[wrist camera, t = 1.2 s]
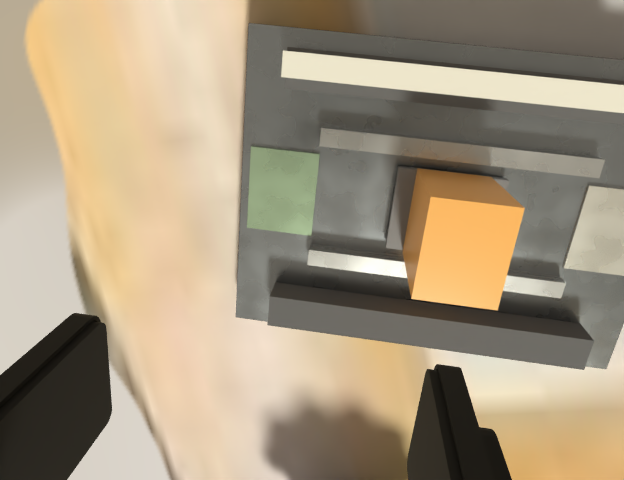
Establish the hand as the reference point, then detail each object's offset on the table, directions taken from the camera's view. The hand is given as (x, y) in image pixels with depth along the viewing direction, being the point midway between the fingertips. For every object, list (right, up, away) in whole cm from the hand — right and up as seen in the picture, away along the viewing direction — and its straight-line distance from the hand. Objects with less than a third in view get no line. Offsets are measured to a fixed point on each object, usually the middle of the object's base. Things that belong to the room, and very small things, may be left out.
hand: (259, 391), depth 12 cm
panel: (+9, +6, +18) cm, 21 cm away
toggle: (+9, +5, +16) cm, 19 cm away
